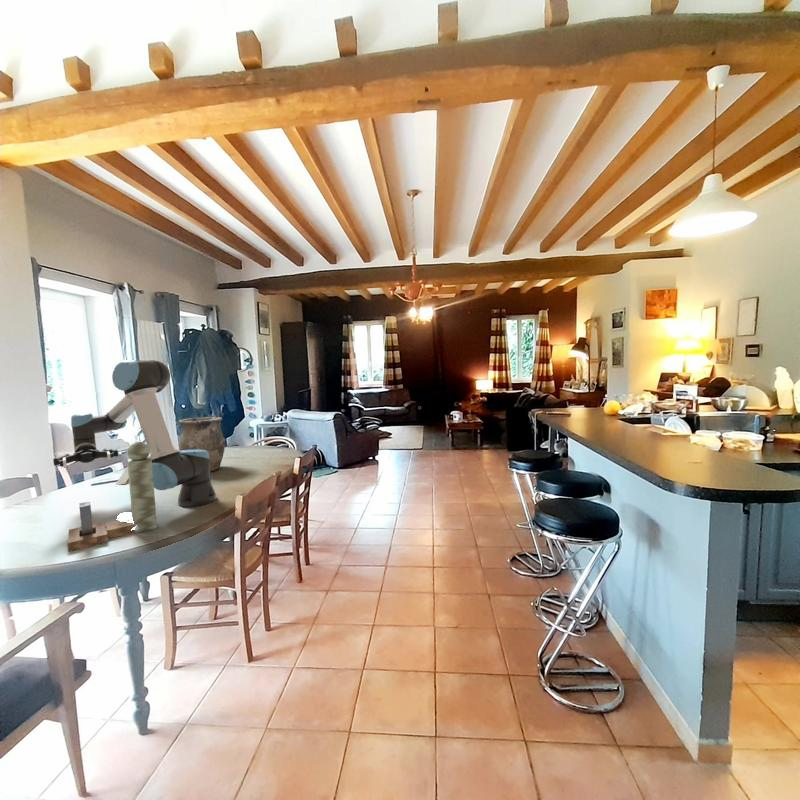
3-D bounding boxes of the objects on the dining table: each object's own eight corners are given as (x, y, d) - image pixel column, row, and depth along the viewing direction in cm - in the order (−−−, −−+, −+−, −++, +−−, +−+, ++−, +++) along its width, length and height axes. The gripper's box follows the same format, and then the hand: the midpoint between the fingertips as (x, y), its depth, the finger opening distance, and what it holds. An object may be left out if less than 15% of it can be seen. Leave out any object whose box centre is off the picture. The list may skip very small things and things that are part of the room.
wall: (155, 488, 216) (162, 464, 226) (146, 479, 210) (154, 455, 220) (124, 494, 216) (133, 470, 226) (114, 485, 210) (123, 461, 220)
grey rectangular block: (93, 536, 147) (90, 501, 146) (93, 541, 143) (90, 505, 142) (83, 539, 145) (79, 503, 144) (83, 543, 141) (79, 507, 140)
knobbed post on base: (153, 519, 162) (146, 438, 159) (158, 530, 151) (151, 443, 148) (69, 537, 147) (60, 448, 143) (68, 551, 136) (58, 454, 132)
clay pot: (234, 467, 240) (231, 416, 237) (197, 477, 220) (194, 422, 217) (210, 463, 251) (207, 414, 248) (173, 472, 231) (169, 419, 228)
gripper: (122, 456, 180) (127, 464, 164) (48, 467, 165) (45, 477, 149) (120, 439, 180) (125, 445, 163) (46, 448, 164) (43, 456, 148)
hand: (87, 460), depth 156 cm, fingers open, 13 cm apart
